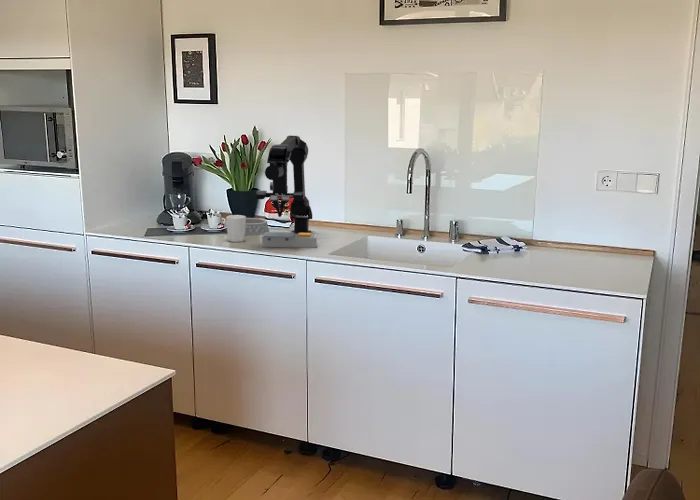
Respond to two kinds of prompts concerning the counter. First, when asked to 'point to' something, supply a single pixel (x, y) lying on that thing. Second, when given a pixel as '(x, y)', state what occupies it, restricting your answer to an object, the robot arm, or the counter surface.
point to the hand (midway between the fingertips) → (279, 216)
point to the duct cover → (279, 234)
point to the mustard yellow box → (304, 235)
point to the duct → (289, 242)
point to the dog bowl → (255, 226)
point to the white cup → (236, 228)
